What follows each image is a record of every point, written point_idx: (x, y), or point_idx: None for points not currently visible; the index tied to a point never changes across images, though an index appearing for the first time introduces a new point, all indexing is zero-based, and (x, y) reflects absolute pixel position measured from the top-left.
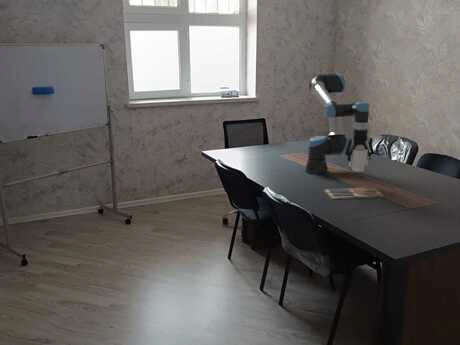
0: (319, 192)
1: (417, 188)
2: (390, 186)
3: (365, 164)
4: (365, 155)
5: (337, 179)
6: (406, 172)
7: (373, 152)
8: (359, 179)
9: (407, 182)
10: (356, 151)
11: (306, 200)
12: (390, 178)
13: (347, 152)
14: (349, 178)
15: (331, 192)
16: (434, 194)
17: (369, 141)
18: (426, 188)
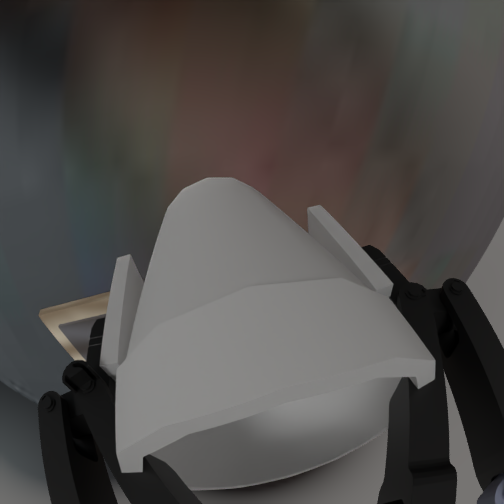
0: (32, 326)
1: (446, 220)
2: (377, 199)
3: (311, 222)
4: (323, 396)
5: (76, 71)
6: (485, 5)
7: (451, 332)
8: (243, 49)
9: (456, 139)
10: (214, 480)
11: (34, 384)
12: (424, 60)
13: (87, 455)
14: (170, 28)
15: (81, 354)
16: (445, 274)
17: (492, 484)
18: (464, 218)
